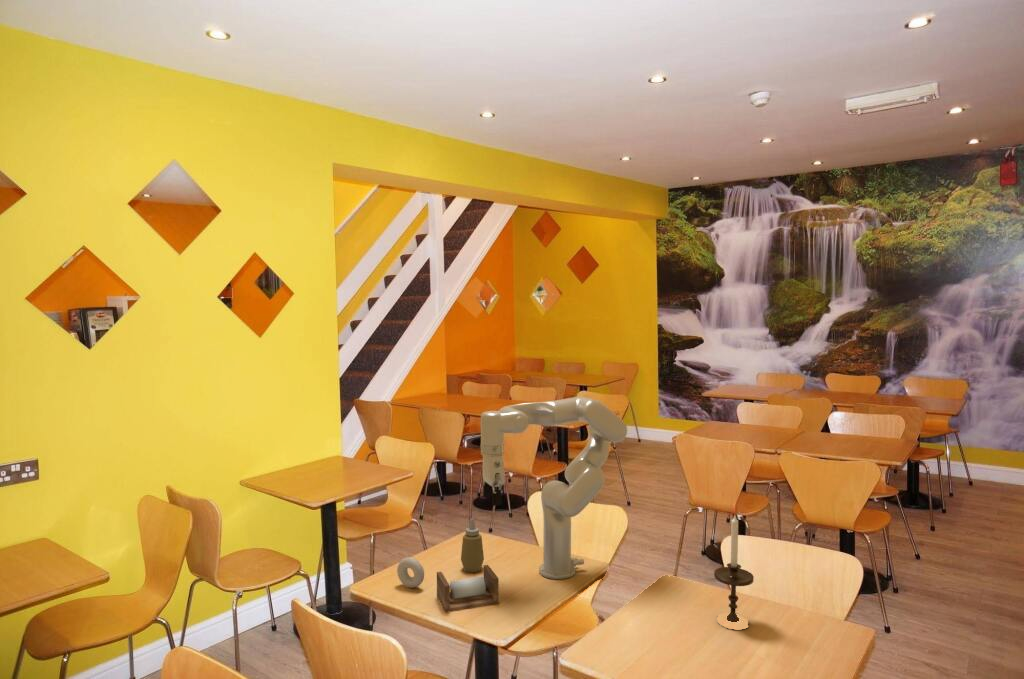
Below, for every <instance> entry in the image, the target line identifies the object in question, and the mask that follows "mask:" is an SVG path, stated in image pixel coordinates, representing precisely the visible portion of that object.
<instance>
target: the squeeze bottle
mask: <svg viewBox="0 0 1024 679" xmlns="http://www.w3.org/2000/svg"><path fill="white" fill-rule="evenodd" d="M482 537H483V536H482V535H481V533H480V529H479V527H477V526H476V523H475V519H474V518H470V520H469V525H468V527H467V528H465V533H464V535H463V536H462V543H461V553H460V556H461V557H460V561H461V565H462V567H463V570H464V571H465V572H467V573H476V572H479V571H481V570H482V566H483V563H484V560H485V558H484V549H483V548H484V545H483V538H482Z"/></svg>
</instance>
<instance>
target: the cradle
mask: <svg viewBox="0 0 1024 679" xmlns="http://www.w3.org/2000/svg"><path fill="white" fill-rule="evenodd" d="M482 566H483V578H484V581H485V587H486V592H485V594H484V595H478V596H472V597H465V598H459V599H453V600H452V598H451V593H450V583H449V582H448V581H447V578H446V577H445V575H444V573H443V572H442V571H436V598H437V600H438V602H439V604H440V603H441V604H440V605H441V607H442V609H443V611H444V613H448V611H450V612H454V610H456V611H462V610H467V609H473V608H478V607H479V608H480V607H485V606H492V605H496V604H497V605H498V604H499V599H500V598H499V594H500V593H499V592H500V591H499V588H500V587H499V586H500V585H499V582H500V581H499V577H498V576H497V574H496V572H494V571H493V569H492V568H491V567H490V566H489V565H488V564H486V565H485V564H484V565H483V564H482ZM461 609H462V610H461Z"/></svg>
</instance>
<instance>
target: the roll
mask: <svg viewBox="0 0 1024 679" xmlns="http://www.w3.org/2000/svg"><path fill="white" fill-rule="evenodd" d="M449 585H450V593H451V598H452V600H453V599H459V598H465V597H472V596H478V595H484V594H485V592H486V587H485V581H484V576H475V577H470V578H464V579H458V580H457V579H456V580H452V581H450V583H449Z"/></svg>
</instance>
